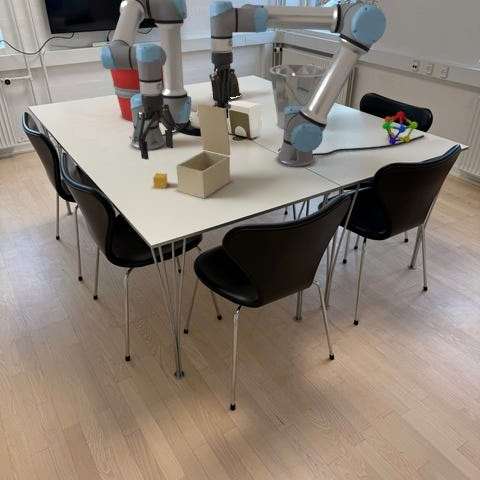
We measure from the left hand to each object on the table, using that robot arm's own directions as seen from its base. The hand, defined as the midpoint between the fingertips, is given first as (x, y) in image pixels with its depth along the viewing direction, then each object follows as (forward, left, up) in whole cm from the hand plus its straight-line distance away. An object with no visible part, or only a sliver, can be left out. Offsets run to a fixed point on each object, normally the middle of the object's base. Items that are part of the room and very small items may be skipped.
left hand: (157, 153), depth 162 cm
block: (0, 0, -13) cm, 13 cm away
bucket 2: (-82, +50, -13) cm, 97 cm away
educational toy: (-61, +98, -13) cm, 116 cm away
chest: (-2, +17, -13) cm, 21 cm away
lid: (-8, +19, +7) cm, 22 cm away
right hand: (-14, +22, +10) cm, 28 cm away
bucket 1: (-89, -34, -13) cm, 97 cm away
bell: (-134, +6, -13) cm, 135 cm away
